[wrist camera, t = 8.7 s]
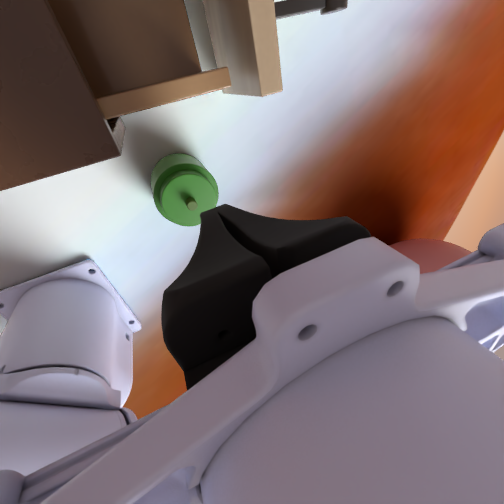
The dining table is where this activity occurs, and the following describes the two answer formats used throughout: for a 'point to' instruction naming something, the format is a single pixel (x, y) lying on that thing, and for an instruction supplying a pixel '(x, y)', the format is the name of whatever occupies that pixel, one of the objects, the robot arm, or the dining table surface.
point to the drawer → (176, 48)
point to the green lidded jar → (183, 189)
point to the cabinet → (46, 100)
